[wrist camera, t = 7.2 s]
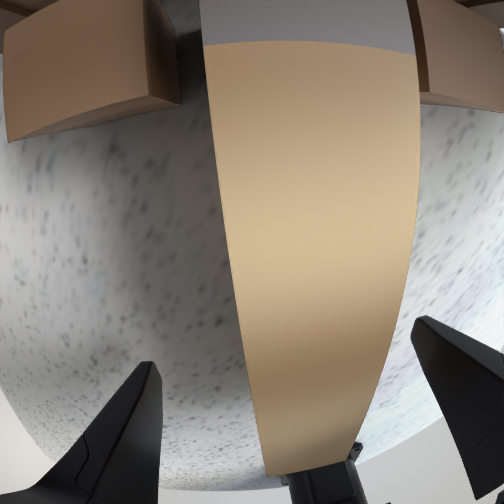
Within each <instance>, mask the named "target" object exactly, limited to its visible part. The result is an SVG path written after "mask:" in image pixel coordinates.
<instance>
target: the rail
mask: <svg viewBox="0 0 504 504" xmlns="http://www.w3.org/2000/svg"><path fill="white" fill-rule="evenodd" d="M199 7H200V18H201V29H202V40H203V50H204V60H205V70H206V79H207V89H208V98H209V106H210V115H211V124H212V132H213V140H214V149H215V157H216V165H217V172H218V180H219V188H220V195H221V203H222V210H223V217H224V224H225V232H226V239H227V246H228V252H229V259H230V266H231V273H232V279H233V286H234V292H235V299H236V305H237V312H238V318H239V324H240V330H241V336H242V343H243V349H244V355H245V361H246V366H247V372H248V378H249V384H250V389H251V395H252V401H253V406H254V412H255V417H256V423H257V428H258V434H259V439H260V444H261V449H262V455H263V460H264V465H265V470H266V475H267V477H270V476H277V475H283V474H289V473H294V472H299V471H304V470H309V469H314V468H318V467H322V466H326V465H330V464H334V463H338V462H341V461H345V460H346V459H347V457H348V454H349V452H350V450H351V448H352V446H353V444H354V442H355V440H356V437H357V435H358V433H359V430H360V428H361V426H362V423H363V421H364V419H365V416H366V414H367V411H368V409H369V406H370V404H371V401H372V398H373V396H374V393H375V390H376V387H377V385H378V382H379V379H380V376H381V373H382V370H383V367H384V364H385V361H386V358H387V354H388V351H389V348H390V344H391V341H392V337H393V334H394V330H395V326H396V322H397V319H398V315H399V310H400V306H401V302H402V298H403V293H404V288H405V283H406V278H407V273H408V268H409V262H410V256H411V250H412V244H413V237H414V229H415V221H416V213H417V203H418V191H419V176H420V152H421V120H420V96H419V82H418V71H417V61H416V53H415V46H414V39H413V33H412V27H411V22H410V17H409V12H408V7H407V2H406V0H199Z"/></svg>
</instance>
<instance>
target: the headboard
mask: <svg viewBox="0 0 504 504" xmlns="http://www.w3.org/2000/svg"><path fill="white" fill-rule="evenodd" d="M406 2H407V7H408V12H409V17H410V22H411V27H412V33H413V39H414V46H415V53H416V61H417V71H418V82H419V96H420V104H431V105H445V106H455V107H465V108H473V109H480V110H487V111H493V112H499V113H504V53H503V47H502V41H501V36H500V31H499V28H504V0H406ZM0 53H2V54H3V96H4V112H5V122H6V131H7V139H8V143H10V142H14V141H18V140H22V139H26V138H31V137H35V136H40V135H45V134H50V133H55V132H61V131H66V130H72V129H79V128H86V127H90V126H94V125H97V124H100V123H104V122H108V121H111V120H115V119H119V118H123V117H127V116H131V115H136V114H140V113H145V112H149V111H154V110H159V109H164V108H170V107H175V106H181V98H180V89H179V79H178V68H177V56H176V44H175V30H174V27H173V26H172V24H171V22H170V20H169V18H168V16H167V14H166V12H165V10H164V9H163V7H162V5H161V3H160V1H159V0H0Z"/></svg>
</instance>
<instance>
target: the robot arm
mask: <svg viewBox="0 0 504 504" xmlns="http://www.w3.org/2000/svg"><path fill="white" fill-rule="evenodd" d="M411 342H412V344H413V347H414V349H415V352H416V354H417V357H418V359H419V362H420V365H421V367H422V370H423V372H424V375H425V377H426V379H427V381H428V383H429V385H430V387H431V389H432V391H433V393H434V395H435V398H436V400H437V402H438V404H439V406H440V408H441V411H442V413H443V415H444V417H445V419H446V422H447V424H448V427H449V429H450V431H451V433H452V436H453V438H454V441H455V443H456V446H457V448H458V451H459V454H460V456H461V459H462V462H463V464H464V467H465V470H466V473H467V476H468V478H469V481H470V484H471V487H472V490H473V493H474V497H475V499H476V500H478V499H480V498H482V497H484V496H485V495H487V494H488V493H490V492H492V491H493V490H495V489H496V488H498V487H499V486H501V485H502V484H503V483H504V354H503V353H500V352H499V351H497V350H495V349H493V348H491V347H489V346H487V345H485V344H483V343H481V342H479V341H477V340H475V339H473V338H471V337H469V336H467V335H465V334H463V333H461V332H459V331H457V330H455V329H453V328H451V327H449V326H447V325H445V324H443V323H441V322H439V321H437V320H435V319H433V318H431V317H429V316H427V315H424V316H421V317H418V318H416V320H415V322H414V325H413V329H412V332H411ZM162 427H163V408H162V379H161V376H160V374H159V372H158V369H157V367H156V365H155V363H154V362H153V361H142V362H141V363H139V365H138V366H137V367H136V368H135V369H134V371H133V372H132V373H131V374H130V376H129V377H128V378H127V379H126V380H125V382H124V383H123V384H122V385H121V387H120V388H119V389H118V390H117V391H116V393H115V394H114V395H113V396H112V398H111V399H110V400H109V401H108V403H107V404H106V405H105V406H104V408H103V409H102V410H101V411H100V412H99V414H98V415H97V416H96V417H95V419H94V420H93V421H92V422H91V424H90V425H89V426H88V427H87V429H86V430H85V431H84V432H83V435H81V436H80V437H79V439H78V440H77V441H76V442H75V443H74V445H73V446H72V447H71V448H70V449H69V451H68V452H67V453H66V454H65V455H64V456H63V457H62V458H61V459H60V460H59V461H58V462H57V463H56V464H55V465H54V466H53V467H52V468H51V469H50V470H49V471H48V472H47V473H46V474H45V475H44V476H43V477H42V478H41V479H40V480H39V481H38V482H37V483H36V484H35V485H33V486H32V487H30V488H28V489H25V490H21V491H17V492H12V493H7V494H2V495H0V504H158V484H159V466H160V451H161V439H162ZM362 449H363V445H362V443H356V444H353V446H352V448H351V450H350V452H349V454H348V457H347V459H346V460H345V461H341V462H338V463H334V464H330V465H326V466H322V467H318V468H314V469H309V470H304V471H299V472H294V473H289V474H283V475H281V483H282V485H283V486H286V485H289V490H290V495H291V500H292V504H368V503H367V500H366V497H365V494H364V491H363V488H362V485H361V482H360V479H359V476H358V473H357V470H356V467H355V464H354V463H355V461H356V459H357V458H358V456H359V454H360V452H361V451H362ZM387 504H391V503H390V502H389V503H387ZM495 504H504V490H502V491H501V492H500V493H499V494H498V496H497V500H496V503H495Z"/></svg>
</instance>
